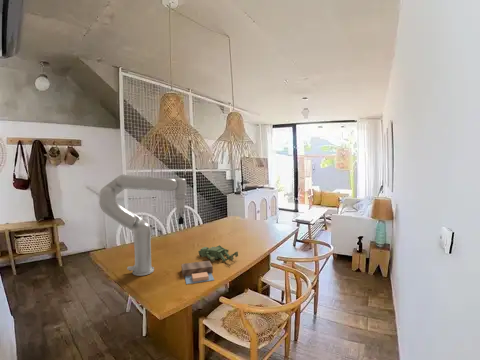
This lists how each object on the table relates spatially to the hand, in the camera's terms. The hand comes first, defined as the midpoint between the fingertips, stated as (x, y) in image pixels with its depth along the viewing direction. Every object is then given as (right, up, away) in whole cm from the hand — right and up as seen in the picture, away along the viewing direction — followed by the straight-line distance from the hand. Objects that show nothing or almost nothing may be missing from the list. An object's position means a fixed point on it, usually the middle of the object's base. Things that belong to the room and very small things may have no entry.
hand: (181, 223), depth 171 cm
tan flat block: (+16, -26, -21) cm, 38 cm away
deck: (+12, -28, -11) cm, 32 cm away
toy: (+23, -27, +11) cm, 37 cm away
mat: (+16, -29, -21) cm, 39 cm away
